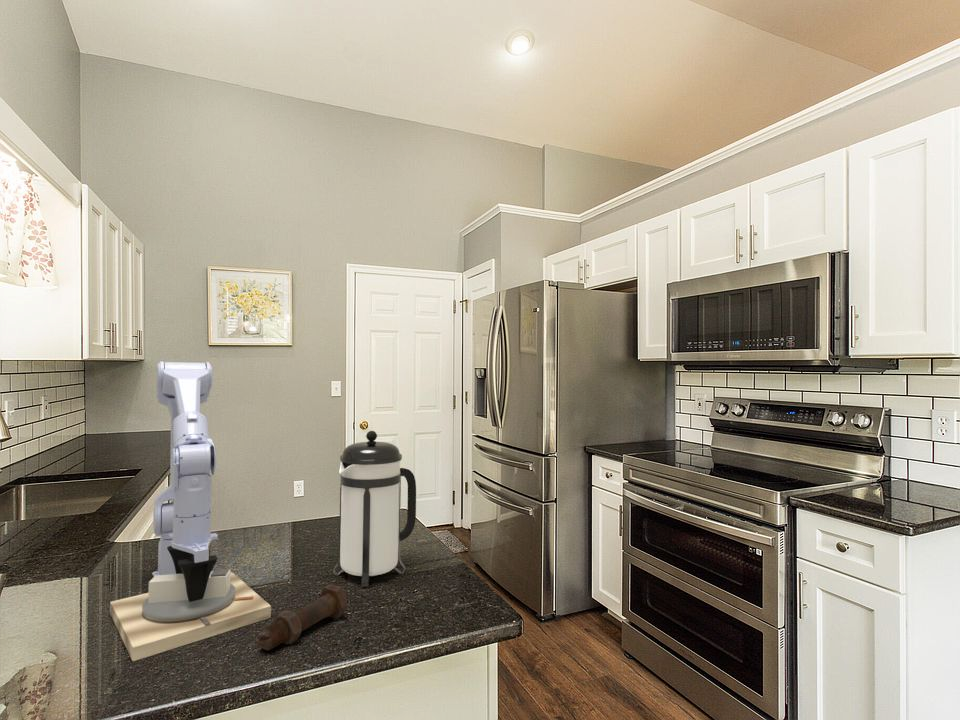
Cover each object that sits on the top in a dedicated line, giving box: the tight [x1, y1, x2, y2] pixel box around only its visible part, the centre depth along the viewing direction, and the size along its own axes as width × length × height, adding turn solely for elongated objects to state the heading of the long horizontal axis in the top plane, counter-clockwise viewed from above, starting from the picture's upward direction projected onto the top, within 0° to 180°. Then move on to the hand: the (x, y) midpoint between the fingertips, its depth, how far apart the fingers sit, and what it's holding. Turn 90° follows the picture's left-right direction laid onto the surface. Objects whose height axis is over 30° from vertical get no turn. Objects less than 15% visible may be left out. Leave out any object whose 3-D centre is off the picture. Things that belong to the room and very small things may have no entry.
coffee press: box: [332, 430, 417, 588], centre depth 110 cm, size 17×16×30 cm
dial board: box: [109, 571, 272, 662], centre depth 89 cm, size 20×20×2 cm
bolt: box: [257, 584, 348, 651], centre depth 84 cm, size 6×5×15 cm
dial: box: [142, 568, 235, 622], centre depth 89 cm, size 14×14×5 cm
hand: (190, 592), depth 89 cm, fingers open, 7 cm apart
